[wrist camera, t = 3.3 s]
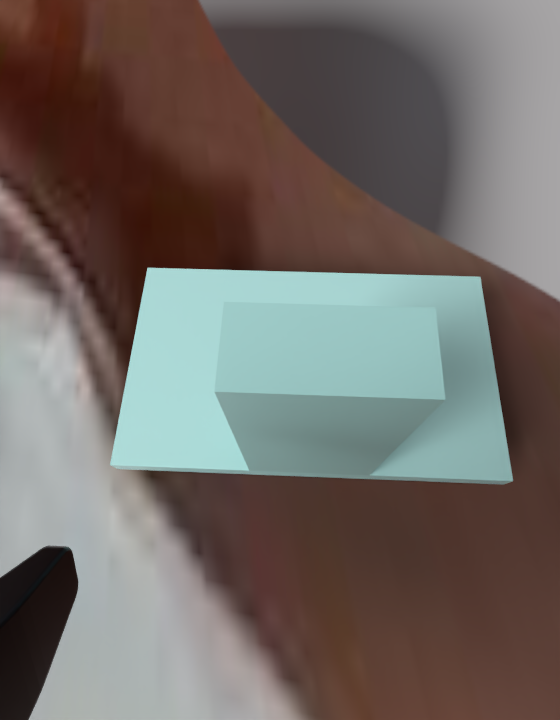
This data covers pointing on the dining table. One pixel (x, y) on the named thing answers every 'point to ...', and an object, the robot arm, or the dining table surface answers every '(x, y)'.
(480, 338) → the lid
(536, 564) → the dining table surface
